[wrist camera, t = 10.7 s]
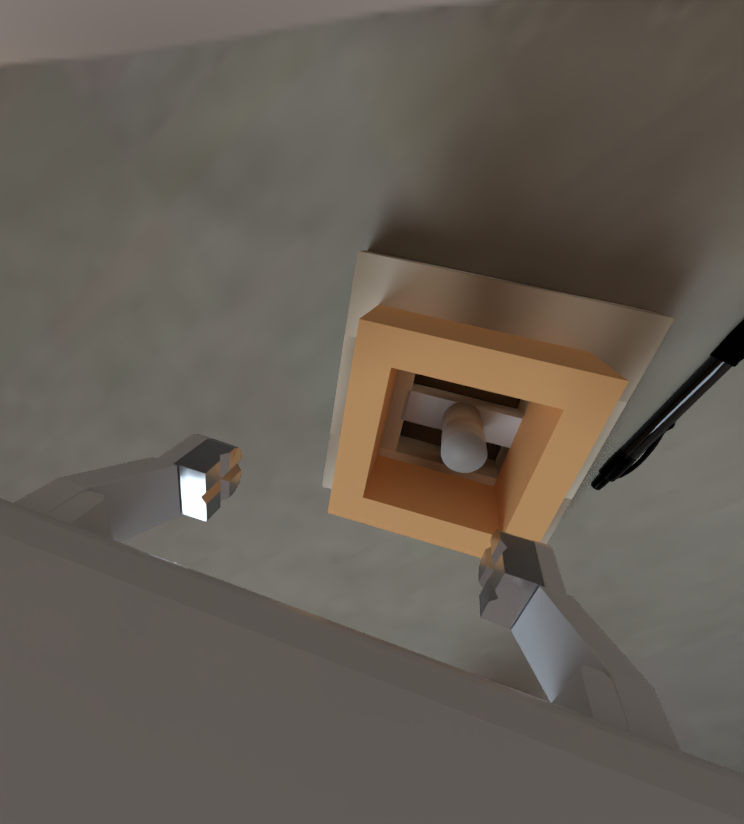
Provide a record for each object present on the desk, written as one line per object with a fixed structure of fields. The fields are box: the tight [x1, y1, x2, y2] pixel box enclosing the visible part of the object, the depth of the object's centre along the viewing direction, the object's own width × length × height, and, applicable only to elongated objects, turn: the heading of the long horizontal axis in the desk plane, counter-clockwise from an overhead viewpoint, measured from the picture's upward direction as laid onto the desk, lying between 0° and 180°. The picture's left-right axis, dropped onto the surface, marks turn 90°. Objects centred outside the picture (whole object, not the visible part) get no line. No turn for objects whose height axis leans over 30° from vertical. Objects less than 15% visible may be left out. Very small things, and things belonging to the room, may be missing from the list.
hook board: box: [322, 251, 675, 544], centre depth 18 cm, size 14×14×6 cm
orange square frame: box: [328, 305, 629, 558], centre depth 17 cm, size 10×10×4 cm
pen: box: [591, 320, 744, 490], centre depth 17 cm, size 14×2×1 cm, turn 156°
